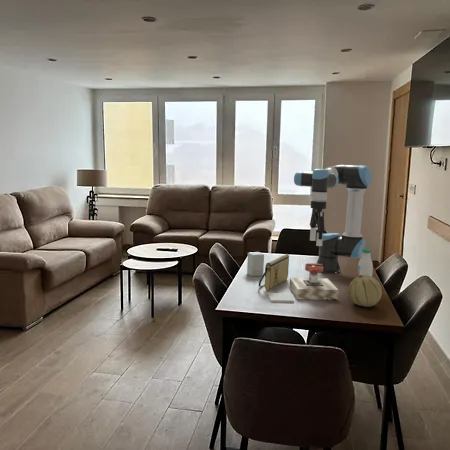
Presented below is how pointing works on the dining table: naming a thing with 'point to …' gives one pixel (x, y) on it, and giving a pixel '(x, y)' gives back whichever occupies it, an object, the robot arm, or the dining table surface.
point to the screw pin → (313, 271)
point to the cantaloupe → (365, 291)
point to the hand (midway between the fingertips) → (315, 243)
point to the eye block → (313, 289)
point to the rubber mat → (280, 297)
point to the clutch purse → (275, 272)
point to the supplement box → (255, 264)
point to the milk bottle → (365, 263)
